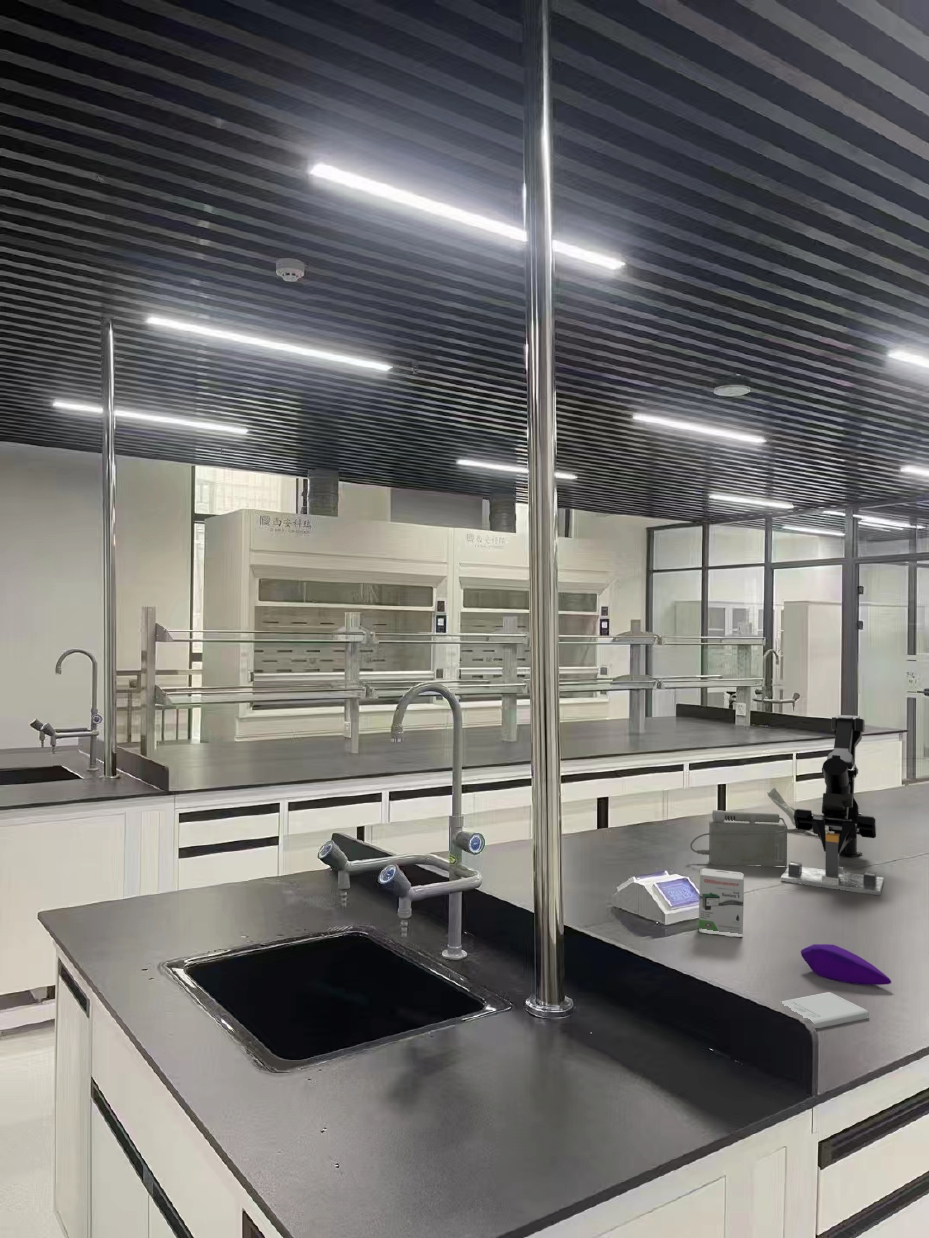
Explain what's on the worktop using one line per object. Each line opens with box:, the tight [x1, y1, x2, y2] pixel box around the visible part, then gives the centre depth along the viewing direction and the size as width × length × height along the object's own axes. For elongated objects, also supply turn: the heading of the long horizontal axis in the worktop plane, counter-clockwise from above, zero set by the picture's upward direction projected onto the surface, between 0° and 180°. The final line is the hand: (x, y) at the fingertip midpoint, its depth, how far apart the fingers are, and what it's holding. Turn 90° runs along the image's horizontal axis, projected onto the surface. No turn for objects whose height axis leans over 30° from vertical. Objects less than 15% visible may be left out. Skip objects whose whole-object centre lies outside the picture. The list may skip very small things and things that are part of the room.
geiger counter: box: [689, 809, 788, 867], centre depth 226 cm, size 14×6×25 cm
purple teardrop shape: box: [800, 943, 892, 986], centre depth 148 cm, size 5×5×15 cm
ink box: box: [698, 867, 745, 935], centre depth 172 cm, size 9×5×12 cm, turn 73°
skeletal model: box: [766, 787, 831, 833], centre depth 271 cm, size 16×9×25 cm
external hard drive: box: [782, 991, 869, 1029], centre depth 134 cm, size 2×8×12 cm
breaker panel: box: [780, 861, 885, 897], centre depth 211 cm, size 14×22×4 cm, turn 61°
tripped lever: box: [824, 832, 840, 877], centre depth 211 cm, size 3×3×10 cm
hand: (831, 851), depth 210 cm, fingers closed on tripped lever, 3 cm apart
